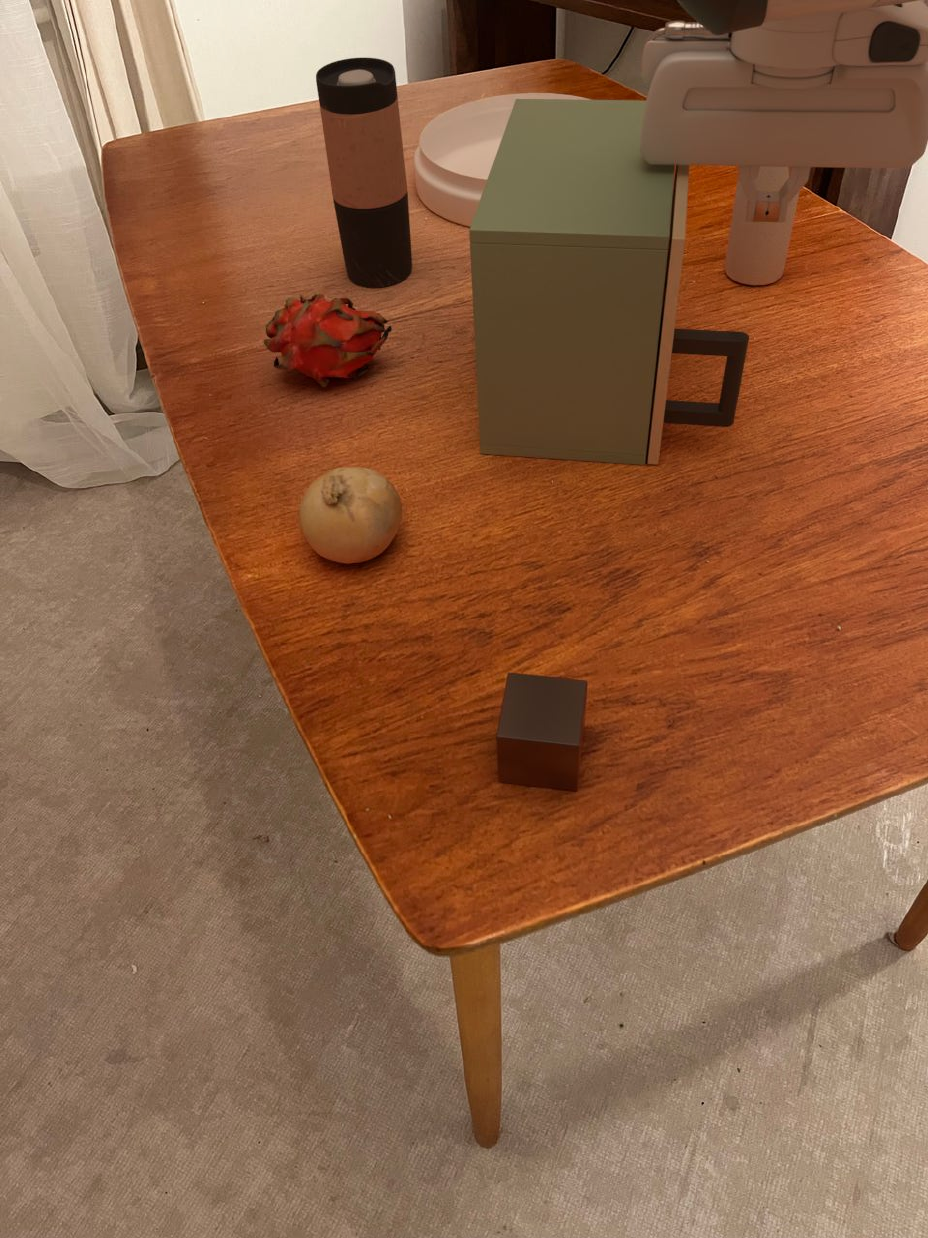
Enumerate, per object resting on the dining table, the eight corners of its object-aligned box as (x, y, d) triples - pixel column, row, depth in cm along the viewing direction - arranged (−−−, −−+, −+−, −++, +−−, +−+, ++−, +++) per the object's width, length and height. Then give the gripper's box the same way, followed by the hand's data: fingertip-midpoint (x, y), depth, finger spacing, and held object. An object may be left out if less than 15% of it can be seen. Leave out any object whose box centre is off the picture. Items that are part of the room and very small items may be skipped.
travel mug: (337, 261, 108) (307, 64, 93) (404, 248, 109) (384, 51, 95) (353, 294, 103) (323, 91, 88) (423, 280, 104) (405, 77, 90)
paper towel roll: (736, 291, 100) (774, 61, 84) (715, 262, 104) (747, 38, 88) (803, 280, 100) (854, 51, 85) (779, 252, 104) (823, 29, 89)
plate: (612, 244, 108) (615, 194, 104) (383, 220, 114) (378, 173, 110) (657, 143, 125) (661, 97, 121) (456, 127, 131) (453, 83, 127)
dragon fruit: (265, 391, 95) (388, 388, 97) (265, 386, 87) (400, 383, 89) (259, 299, 93) (384, 298, 96) (259, 285, 85) (396, 285, 87)
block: (584, 727, 64) (587, 680, 61) (577, 792, 61) (580, 746, 57) (509, 719, 65) (507, 671, 61) (498, 782, 62) (495, 736, 58)
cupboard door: (728, 314, 97) (762, 103, 82) (728, 469, 81) (771, 241, 66) (660, 311, 98) (682, 102, 83) (647, 464, 82) (672, 238, 67)
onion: (300, 518, 80) (284, 449, 75) (396, 500, 81) (386, 430, 75) (312, 586, 74) (295, 517, 69) (414, 566, 75) (406, 496, 70)
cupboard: (657, 313, 98) (679, 100, 83) (644, 465, 82) (669, 236, 67) (518, 306, 100) (515, 98, 85) (480, 454, 84) (468, 229, 69)
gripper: (641, 36, 66) (627, 234, 76) (964, 34, 63) (905, 241, 73) (645, 6, 70) (632, 197, 80) (949, 3, 67) (895, 203, 77)
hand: (764, 218), depth 77 cm, fingers closed
